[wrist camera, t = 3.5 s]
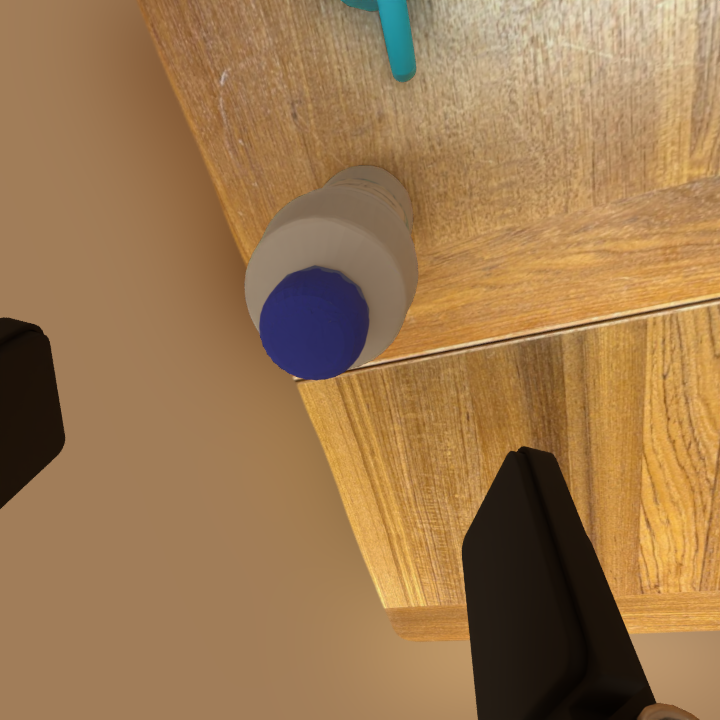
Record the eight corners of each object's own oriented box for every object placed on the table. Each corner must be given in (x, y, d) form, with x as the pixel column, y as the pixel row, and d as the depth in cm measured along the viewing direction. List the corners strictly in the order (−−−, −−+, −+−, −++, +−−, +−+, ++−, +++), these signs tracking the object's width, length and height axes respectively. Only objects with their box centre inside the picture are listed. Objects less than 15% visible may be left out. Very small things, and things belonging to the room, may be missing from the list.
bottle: (431, 179, 29) (459, 277, 11) (396, 272, 32) (375, 460, 15) (334, 143, 28) (206, 187, 11) (308, 241, 31) (178, 397, 14)
